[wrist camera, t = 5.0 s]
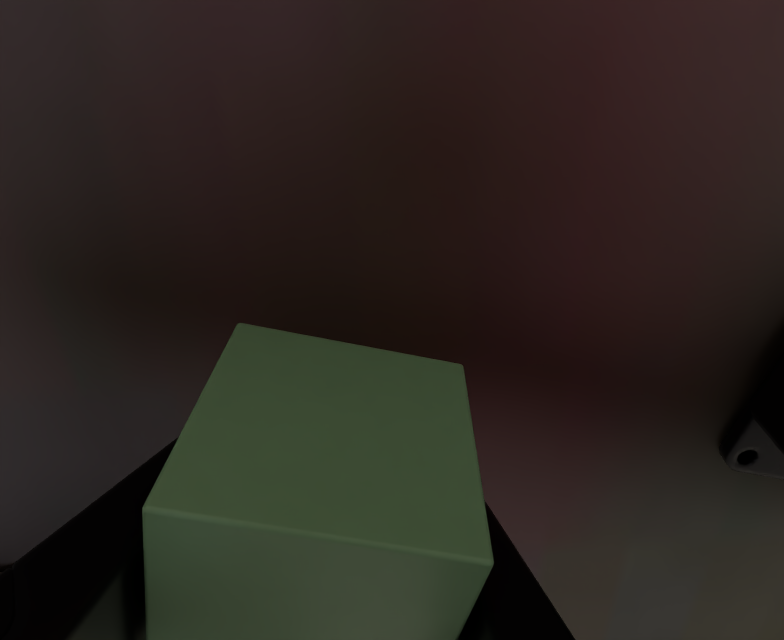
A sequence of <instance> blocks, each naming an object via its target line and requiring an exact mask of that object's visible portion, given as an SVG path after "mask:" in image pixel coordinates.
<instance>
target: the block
mask: <svg viewBox="0 0 784 640" xmlns="http://www.w3.org/2000/svg"><path fill="white" fill-rule="evenodd" d="M142 516H143V549H144V581H145V613H146V640H458V638H459V635H460V633H461V631H462V629H463V627H464V625H465V623H466V621H467V619H468V617H469V615H470V613H471V611H472V609H473V606H474V604H475V602H476V600H477V598H478V596H479V594H480V592H481V590H482V588H483V586H484V584H485V582H486V579H487V577H488V575H489V573H490V571H491V569H492V567H493V564H494V560H493V553H492V547H491V541H490V534H489V528H488V521H487V515H486V509H485V502H484V496H483V489H482V483H481V477H480V470H479V464H478V457H477V451H476V445H475V438H474V432H473V425H472V419H471V413H470V406H469V400H468V393H467V387H466V381H465V374H464V368H463V365H461V364H458V363H452V362H447V361H442V360H436V359H431V358H426V357H420V356H415V355H410V354H404V353H399V352H394V351H388V350H383V349H378V348H372V347H367V346H362V345H356V344H351V343H346V342H340V341H335V340H330V339H324V338H319V337H314V336H308V335H303V334H298V333H292V332H287V331H282V330H276V329H271V328H266V327H260V326H255V325H250V324H244V323H238V324H237V325H236V327H235V329H234V331H233V333H232V335H231V337H230V339H229V341H228V343H227V345H226V347H225V349H224V351H223V352H222V354H221V356H220V358H219V360H218V362H217V364H216V366H215V368H214V370H213V372H212V374H211V376H210V378H209V380H208V382H207V383H206V385H205V387H204V389H203V391H202V393H201V395H200V397H199V399H198V401H197V403H196V405H195V407H194V409H193V411H192V413H191V415H190V416H189V418H188V420H187V422H186V424H185V426H184V428H183V430H182V432H181V434H180V436H179V438H178V440H177V442H176V444H175V446H174V447H173V449H172V451H171V453H170V455H169V457H168V459H167V461H166V463H165V465H164V467H163V469H162V471H161V473H160V475H159V477H158V478H157V480H156V482H155V484H154V486H153V488H152V490H151V492H150V494H149V496H148V498H147V500H146V502H145V504H144V506H143V508H142Z"/></svg>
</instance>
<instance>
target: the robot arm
mask: <svg viewBox="0 0 784 640" xmlns="http://www.w3.org/2000/svg"><path fill="white" fill-rule="evenodd" d="M178 438H179V437H178ZM178 438H176V439H175V440H174V441H173V442H171V443H170V444H169V445H167V446H166V447H165V448H163V449H162V450H161V451H160V452H158V453H157V454H156V455H154V456H153V457H152V458H150V459H149V460H148V461H147V462H145V463H144V464H143V465H141V466H140V467H139V468H137V469H136V470H135V471H134V472H132V473H131V474H130V475H128V476H127V477H126V478H124V479H123V480H122V481H121V482H119V483H118V484H117V485H115V486H114V487H113V488H111V489H110V490H109V491H107V492H106V493H105V494H104V495H102V496H101V497H100V498H98V499H97V500H96V501H94V502H93V503H92V504H91V505H89V506H88V507H87V508H85V509H84V510H83V511H81V512H80V513H79V514H78V515H76V516H75V517H74V518H72V519H71V520H70V521H68V522H67V523H66V524H65V525H63V526H62V527H61V528H59V529H58V530H57V531H55V532H54V533H53V534H52V535H50V536H49V537H48V538H46V539H45V540H44V541H42V542H41V543H40V544H39V545H37V546H36V547H35V548H33V549H32V550H31V551H29V552H28V553H27V554H26V555H24V556H23V557H22V558H20V559H19V560H18V561H16V562H15V563H14V564H13V566H12V569H11V568H7V569H6V570H4V571H3V572H2V573H0V640H146V613H145V581H144V549H143V516H142V508H143V506H144V504H145V502H146V500H147V498H148V496H149V494H150V492H151V490H152V488H153V486H154V484H155V482H156V480H157V478H158V477H159V475H160V473H161V471H162V469H163V467H164V465H165V463H166V461H167V459H168V457H169V455H170V453H171V451H172V449H173V447H174V446H175V444H176V442H177V440H178ZM743 451H744V452H743ZM719 453H720V455H721V456H722V458H723V459H724V461H725V462H726V464H727V465H728V466H729V467H730V468H731V469H732V470H735V471H738V472H744V473H750V474H755V475H761V476H766V477H772V478H778V479H783V480H784V353H783V354H782V356H781V357H780V359H779V360H778V362H777V363H776V364H775V366H774V367H773V369H772V370H771V372H770V373H769V375H768V376H767V377H766V379H765V380H764V382H763V383H762V385H761V386H760V388H759V389H758V390H757V392H756V393H755V395H754V396H753V398H752V399H751V401H750V402H749V403H748V405H747V406H746V408H745V409H744V411H743V412H742V414H741V415H740V416H739V418H738V419H737V421H736V422H735V424H734V425H733V427H732V428H731V429H730V431H729V432H728V434H727V435H726V437H725V438H724V440H723V441H722V442H721V445H720V447H719ZM484 502H485V500H484ZM485 509H486V515H487V521H488V528H489V534H490V541H491V547H492V553H493V560H494V564H493V567H492V569H491V571H490V573H489V575H488V577H487V579H486V582H485V584H484V586H483V588H482V590H481V592H480V594H479V596H478V598H477V600H476V602H475V604H474V606H473V609H472V611H471V613H470V615H469V617H468V619H467V621H466V623H465V625H464V627H463V629H462V631H461V633H460V635H459V638H458V640H575V638H574V637H573V635H572V634H571V632H570V631H569V629H568V628H567V626H566V624H565V623H564V621H563V620H562V618H561V617H560V615H559V614H558V612H557V611H556V609H555V608H554V606H553V605H552V603H551V601H550V600H549V598H548V597H547V595H546V594H545V592H544V591H543V589H542V588H541V586H540V585H539V583H538V581H537V580H536V578H535V577H534V575H533V574H532V572H531V571H530V569H529V568H528V566H527V565H526V563H525V562H524V560H523V558H522V557H521V555H520V554H519V552H518V551H517V549H516V548H515V546H514V545H513V543H512V542H511V540H510V538H509V537H508V535H507V534H506V532H505V531H504V529H503V528H502V526H501V525H500V523H499V522H498V520H497V519H496V517H495V515H494V514H493V512H492V511H491V509H490V508H489V506H488V505H487V503H486V502H485Z"/></svg>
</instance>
